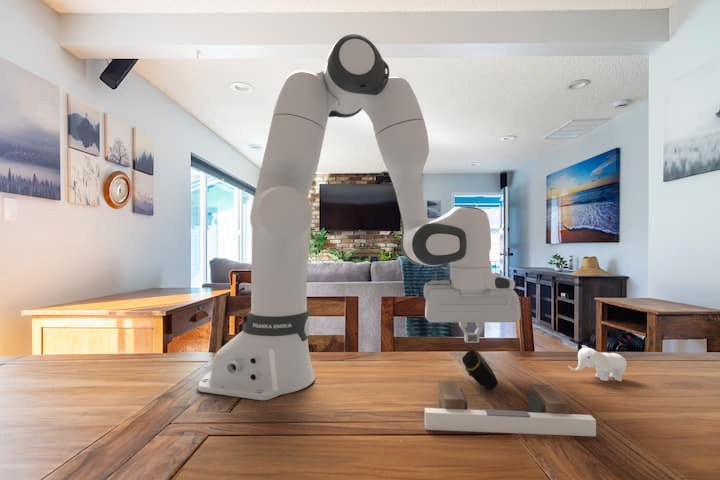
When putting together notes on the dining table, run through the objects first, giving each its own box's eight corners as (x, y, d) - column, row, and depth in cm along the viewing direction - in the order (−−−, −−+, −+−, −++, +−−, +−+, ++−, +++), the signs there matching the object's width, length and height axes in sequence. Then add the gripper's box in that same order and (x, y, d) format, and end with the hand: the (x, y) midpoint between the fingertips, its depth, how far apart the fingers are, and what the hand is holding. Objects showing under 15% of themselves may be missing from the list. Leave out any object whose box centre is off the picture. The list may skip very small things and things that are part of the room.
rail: (425, 432, 54) (425, 402, 54) (421, 406, 62) (421, 380, 62) (596, 441, 51) (596, 409, 51) (567, 412, 60) (567, 385, 60)
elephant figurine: (558, 372, 78) (558, 343, 78) (613, 372, 78) (613, 342, 78) (579, 386, 71) (579, 353, 71) (640, 385, 71) (640, 353, 71)
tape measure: (488, 395, 69) (503, 384, 68) (468, 379, 66) (483, 367, 66) (472, 369, 75) (486, 358, 75) (453, 353, 72) (467, 342, 72)
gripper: (424, 281, 78) (425, 345, 78) (522, 280, 76) (523, 346, 76) (422, 278, 84) (423, 337, 84) (512, 277, 82) (513, 338, 82)
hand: (471, 341), depth 80 cm, fingers closed
